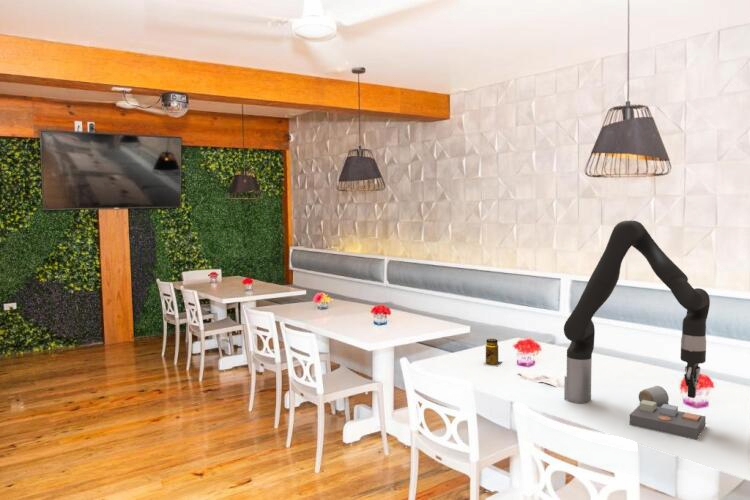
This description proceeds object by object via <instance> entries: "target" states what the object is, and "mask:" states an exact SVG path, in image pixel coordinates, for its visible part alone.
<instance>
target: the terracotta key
mask: <svg viewBox="0 0 750 500" xmlns="http://www.w3.org/2000/svg"><path fill="white" fill-rule="evenodd" d="M700 415H701V414H696V415H695V413H691V414H690V412H686V413H685V414H684V415H683V419H687V420H692V421H697V422H698V421H699V420H700Z"/></svg>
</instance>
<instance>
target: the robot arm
mask: <svg viewBox="0 0 750 500" xmlns="http://www.w3.org/2000/svg"><path fill="white" fill-rule="evenodd" d="M631 247H633V248H634V249H636V250H637V251H638V252H639V253H640V254H642V256H643V257H644V258H645V259H646V261H647V262H648V264H649V266H650V268H651V269H652V271H653V272H654V274H655V275H656V277H658V278H659V279H660V281H661V282H662V283H663V284H664V285H665V286H666V287H667V288H668V289H669V290H670V291H671V293H672V295H673V296H674V298H675V299H676V301H677V302H678V303H679V304H680V306H682V308H684V309H685V310H686V315H685V317H684V318H683V319H682V328H681V330H682V331H681V338H680V339H681V340H680V360H681V361H682V362H684V363H687V364H686V366H685V367H684V372H685V373H684V375H683V376H684V382H685V386H686V387H687V397H688V398H689V399H690V398H691V399H695V398H696V396H697V395H696V394H697V386H698V383H699V379H700V373H701V366H699V364H705V363H706V360H707V359H706V358H707V357H706V356H707V334H706V333H707V319H708V314H709V311H710V305H711V300H710V295H709V293H708V292H707V291H706V290H705V289H702V288H699V287H698V288H694V287H693V285H691V284H690V282H689V277H688V276H687V274H685V273H684V272H683V271H682V269H681V268H680V267H679V266H677V265H676V264H675V262H674V261H672V259H670V258H669V256H668V255H666V254H667V253H665V252H664V251H663V250H662V249H661V248H660V247H659V245H658V244H657V242H656V241H655V240H654V238H653V237H652V236H651V234H650V233H649V232H648V230H647V229H646V228H645V226H644V225H643V223H641V222H639V221H637V220H623V221H622V220H621V221H619V222H618V223H617V224H615V226H614V227H613V229H612V231H611V234H610V237H609V239H608V242H607V244H606V247H605V249H604V252H603V253H602V256H600V258H599V260H598V263H597V264H596V266H595V268H594V269H593V272H592V274H591V275H590V277H589V280H588V281H587V283H586V286H585V288H584V290H583V292H582V294H581V296H580V298H579V300H578V301H577V304H576V306H575V308H574V309H573V310H572V312H571V313H570V315H569V316H568V318H567V319H566V321H565V323H564V326H563V333H564V335H565V338H567V340H568V341H571V342H570V344H569V346H568V347H567V349H566V374H565V375H564V385H565V386H564V387H563V388H564V390H563V391H564V393H563V394H564V396H563V397H564V400H567V401H569V402H570V403H576V404H587V403H590V402H591V400H592V362H593V361H592V360H593V359H592V355H593V351H594V349H595V337H596V336H595V334H596V333H595V332H596V331H595V330H596V329H595V323H594V321H593V320H592V319H593V317H594V315H595V314H596V312H597V311H599V309H600V308H601V307H602V306H603V305H604V303H606V302H607V300H608V299H609V298H610V296H611V295H612V293H613V292H614V290H615V287H616V286H617V283H618V281H619V279H620V274H621V267H622V262H623V260H624V257H626V255H627V253H628V251H630V249H631Z"/></svg>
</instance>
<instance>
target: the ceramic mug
mask: <svg viewBox="0 0 750 500" xmlns="http://www.w3.org/2000/svg"><path fill="white" fill-rule="evenodd" d="M642 400H647V401H652V402H656V407H660V408H661V406H662V405H663V404H668V405H670V403H669V400H670V399H669V395H668V392H667V390H665V388H663V386H661V385H655V386H651V387H649V388H644V389H642V390H641V391H640V392H638V401H639V403H640V402H641V401H642Z"/></svg>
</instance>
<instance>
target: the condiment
mask: <svg viewBox="0 0 750 500" xmlns="http://www.w3.org/2000/svg"><path fill="white" fill-rule="evenodd" d="M485 343H486V344H485V362H484V363H483V365H485V366H492V367H493V366H494V367H495V366H496V367H499V366H501V365H500V364H502V363H503V361H501V360H500V361H499V344H498V339H496V338H487V339H486V342H485Z"/></svg>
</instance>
